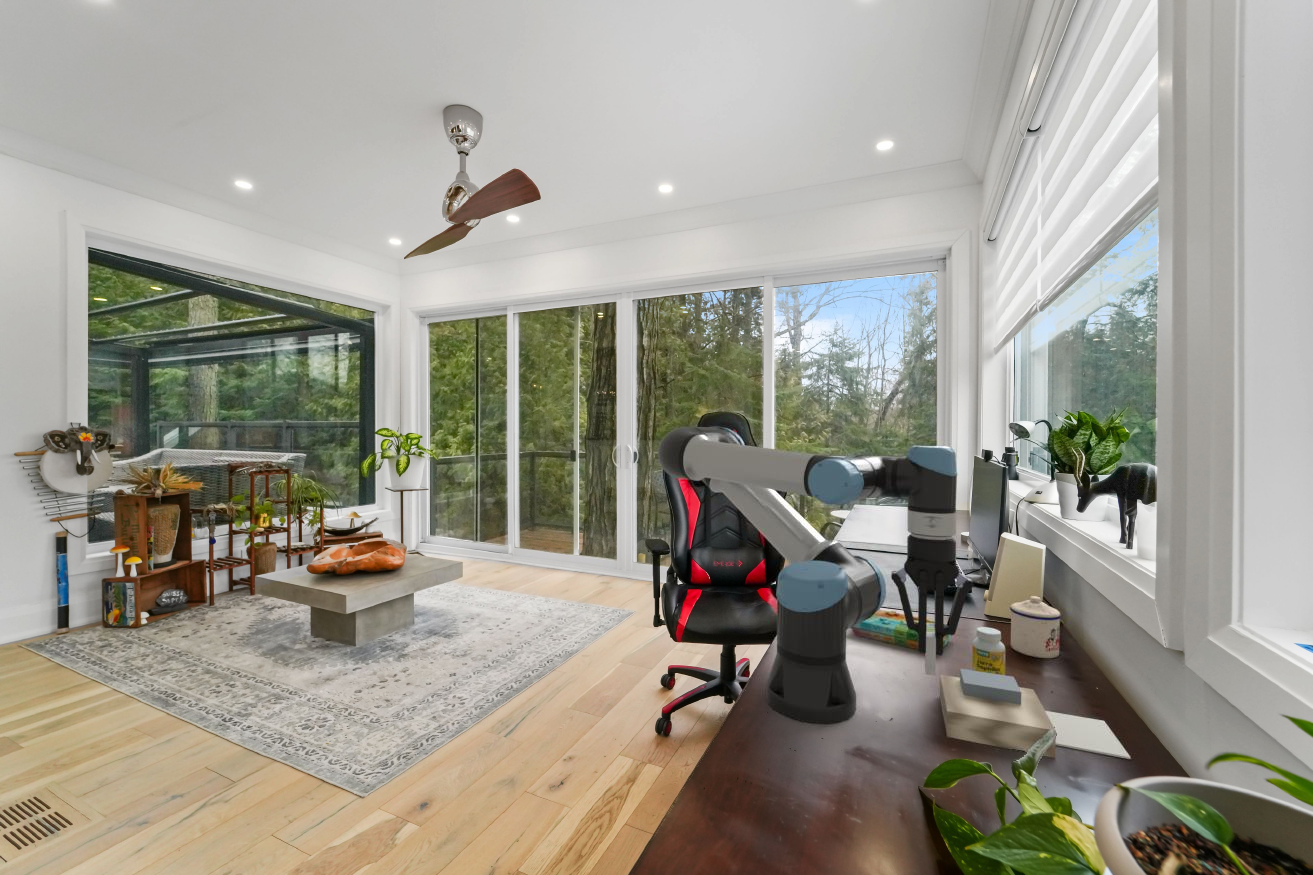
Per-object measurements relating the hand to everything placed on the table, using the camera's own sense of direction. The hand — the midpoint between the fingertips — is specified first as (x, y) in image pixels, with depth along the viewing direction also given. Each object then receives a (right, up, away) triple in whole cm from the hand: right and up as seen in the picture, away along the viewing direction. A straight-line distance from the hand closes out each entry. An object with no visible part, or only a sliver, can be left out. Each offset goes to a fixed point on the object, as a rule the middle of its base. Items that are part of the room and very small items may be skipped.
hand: (930, 671), depth 96 cm
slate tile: (+8, -2, -3) cm, 9 cm away
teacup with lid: (+36, -6, +25) cm, 44 cm away
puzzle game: (+9, -6, +31) cm, 33 cm away
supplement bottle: (+16, -6, +10) cm, 20 cm away
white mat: (+19, -6, -8) cm, 22 cm away
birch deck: (+7, -6, -6) cm, 11 cm away
